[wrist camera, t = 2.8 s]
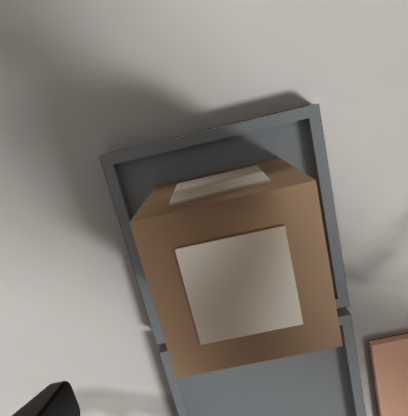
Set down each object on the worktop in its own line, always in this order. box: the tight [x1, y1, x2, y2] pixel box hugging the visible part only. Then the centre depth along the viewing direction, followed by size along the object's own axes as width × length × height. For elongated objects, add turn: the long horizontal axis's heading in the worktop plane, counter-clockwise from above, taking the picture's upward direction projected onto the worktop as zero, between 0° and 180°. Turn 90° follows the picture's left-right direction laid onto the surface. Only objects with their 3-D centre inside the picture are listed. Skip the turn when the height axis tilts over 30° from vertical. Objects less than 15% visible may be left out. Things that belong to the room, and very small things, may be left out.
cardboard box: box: [129, 158, 343, 378], centre depth 15 cm, size 6×6×6 cm
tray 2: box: [159, 307, 366, 416], centre depth 20 cm, size 10×10×1 cm
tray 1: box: [99, 104, 350, 345], centre depth 18 cm, size 10×10×1 cm
